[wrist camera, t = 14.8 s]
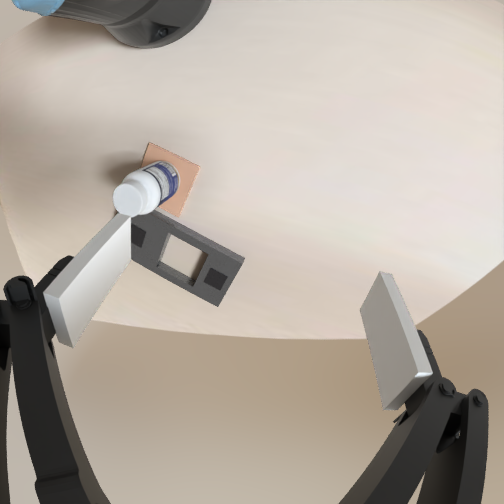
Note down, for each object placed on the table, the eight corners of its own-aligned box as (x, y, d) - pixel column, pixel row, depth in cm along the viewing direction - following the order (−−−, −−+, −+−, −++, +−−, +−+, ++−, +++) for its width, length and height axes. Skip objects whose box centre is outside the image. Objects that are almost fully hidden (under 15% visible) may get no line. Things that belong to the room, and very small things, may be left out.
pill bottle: (150, 198, 41) (112, 224, 33) (143, 162, 39) (103, 180, 30) (184, 196, 40) (151, 222, 32) (178, 158, 38) (142, 174, 29)
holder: (114, 242, 46) (108, 246, 45) (126, 194, 42) (120, 198, 41) (220, 301, 48) (217, 307, 46) (244, 258, 43) (242, 263, 42)
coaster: (133, 192, 42) (132, 192, 41) (150, 142, 38) (149, 143, 38) (179, 216, 42) (178, 217, 42) (200, 166, 38) (199, 167, 38)
